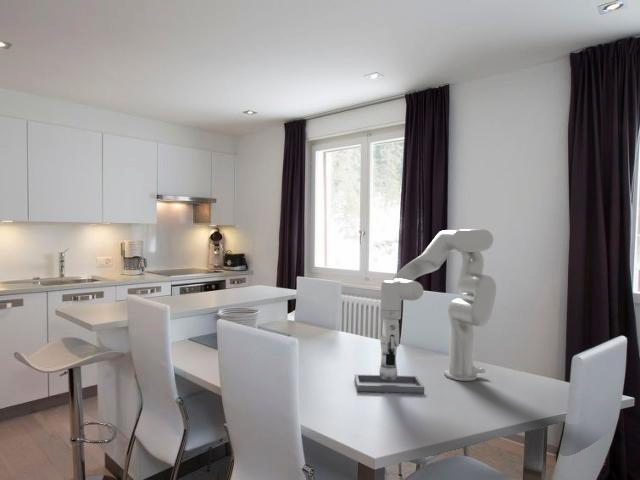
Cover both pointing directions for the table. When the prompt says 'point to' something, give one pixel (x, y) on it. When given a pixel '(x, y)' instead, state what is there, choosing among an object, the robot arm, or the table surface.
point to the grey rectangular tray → (388, 384)
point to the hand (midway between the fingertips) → (388, 361)
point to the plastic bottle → (385, 370)
